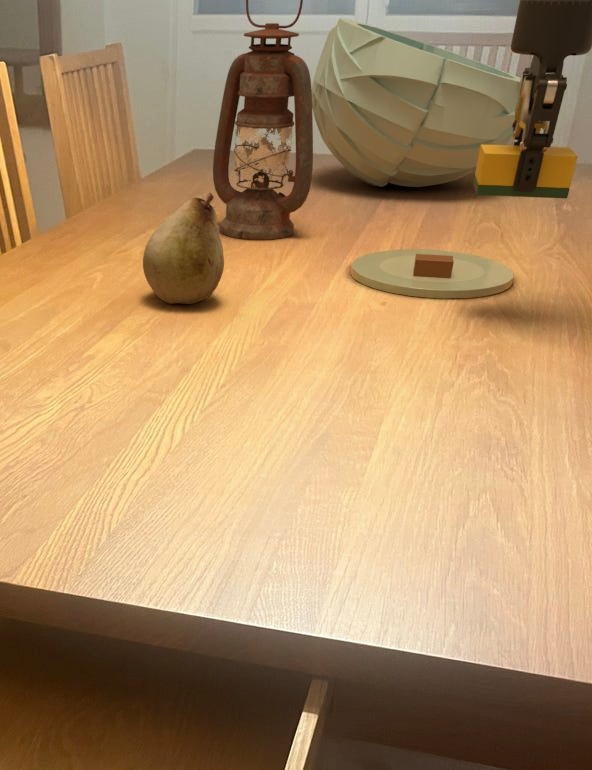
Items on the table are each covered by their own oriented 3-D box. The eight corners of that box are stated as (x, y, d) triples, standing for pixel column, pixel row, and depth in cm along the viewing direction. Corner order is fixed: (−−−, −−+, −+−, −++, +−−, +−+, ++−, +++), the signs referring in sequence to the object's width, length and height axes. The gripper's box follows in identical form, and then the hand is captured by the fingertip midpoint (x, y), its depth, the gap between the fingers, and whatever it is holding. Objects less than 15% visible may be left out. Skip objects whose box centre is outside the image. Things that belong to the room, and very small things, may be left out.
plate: (506, 261, 129) (507, 253, 128) (518, 303, 113) (520, 294, 113) (354, 253, 133) (355, 245, 133) (346, 292, 117) (347, 284, 117)
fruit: (231, 310, 112) (238, 199, 105) (152, 315, 110) (155, 203, 103) (206, 286, 120) (212, 181, 113) (133, 291, 118) (134, 185, 112)
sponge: (559, 187, 104) (569, 146, 102) (567, 198, 99) (577, 155, 97) (472, 184, 106) (480, 144, 104) (476, 195, 101) (484, 153, 99)
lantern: (285, 246, 137) (313, -58, 116) (191, 230, 145) (202, -56, 125) (322, 231, 144) (355, -57, 123) (230, 217, 152) (247, -55, 132)
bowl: (455, 195, 189) (512, 72, 176) (485, 239, 161) (555, 96, 147) (287, 140, 187) (331, 11, 174) (287, 174, 159) (340, 23, 146)
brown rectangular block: (450, 272, 121) (453, 255, 120) (450, 278, 119) (453, 261, 118) (413, 270, 122) (415, 253, 121) (413, 276, 120) (415, 259, 118)
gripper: (617, -2, 86) (567, 200, 96) (591, -6, 98) (548, 174, 107) (529, -2, 88) (488, 197, 97) (513, -6, 99) (478, 172, 109)
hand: (520, 184), depth 102 cm, fingers closed on sponge, 6 cm apart
